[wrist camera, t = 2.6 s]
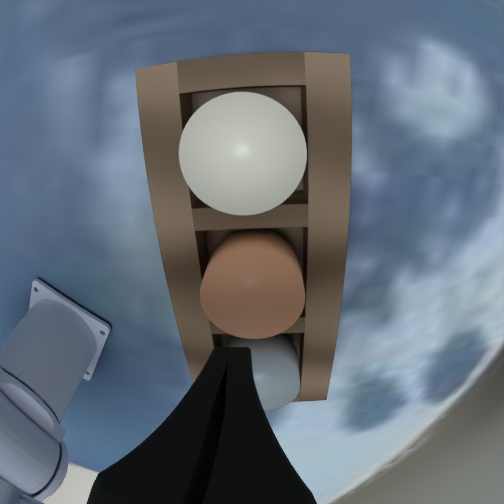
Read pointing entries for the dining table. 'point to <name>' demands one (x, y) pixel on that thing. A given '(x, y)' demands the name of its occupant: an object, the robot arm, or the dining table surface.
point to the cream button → (242, 153)
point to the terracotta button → (253, 285)
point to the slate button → (272, 369)
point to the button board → (275, 220)
